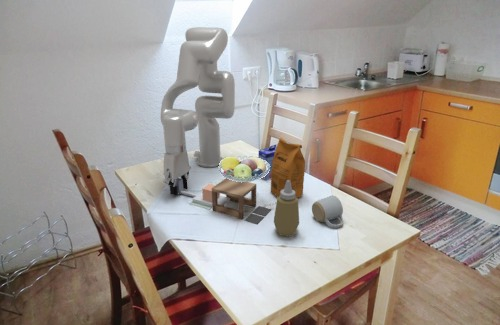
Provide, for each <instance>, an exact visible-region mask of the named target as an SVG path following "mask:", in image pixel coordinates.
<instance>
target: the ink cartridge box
mask: <svg viewBox="0 0 500 325" xmlns="http://www.w3.org/2000/svg"><path fill="white" fill-rule="evenodd" d="M277 144H278V143H277ZM277 144H272V145H270V146H269V147H268V148H262V149H259V150H258V158H261V159H263V160H266V161H267V162H268V163H269V164H270V166H271V167H270V171H269V173H268V174H267V175H266V176H265V177H263V178H261V179H262V180H264V181H267V180H271V170H272V162H273V158H274V154H275V151H276V148H277Z"/></svg>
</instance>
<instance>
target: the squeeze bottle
mask: <svg viewBox="0 0 500 325" xmlns="http://www.w3.org/2000/svg"><path fill="white" fill-rule="evenodd" d="M295 194H296V193H295V191H294V190H292V187H291V182H290V180H287V181H286V185H285V188H284V189H283V190H281V191H280V196H279V197H276V204H275V211H274V218H273V224H274V227H275V230H276V233H277V234H278V235H279V236H282V237H292V236H294V235H295V233H296V231H297V229H298V227H299V224H300V210H299V199H298V198H299V197H298V198H296V197H295Z"/></svg>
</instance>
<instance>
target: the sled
mask: <svg viewBox="0 0 500 325" xmlns="http://www.w3.org/2000/svg"><path fill="white" fill-rule="evenodd" d="M180 178H181V177H179V178H177V181H176V186H177V190H178V195H185V196H189V197H192V201H193V202H196V203H200V204H203V205H207V206H210V207H212V208H213V206H212V202H210V201H206V200H203V194H202V191H201V192H200V193H199V194H196V193H193V192H191V191H190V192H189V191H185V189H183V179H180ZM217 200H218V205H222V206H226V205H227V204H229V203H230V202H231V201H230V198H228V197H226V196H223V195H220V197H219V198H218V199H217Z"/></svg>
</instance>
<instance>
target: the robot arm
mask: <svg viewBox="0 0 500 325" xmlns="http://www.w3.org/2000/svg"><path fill="white" fill-rule="evenodd" d="M184 36H185V40H186V41H184V42H183V43H182V44H181V46H180V49H179V55H178V64H177V65H178V66H177V73H176V79H175V81H174V83H172V85H171V86H170V87H169V88H168V89H167V91H166V92H165V94H164V96H163V97H162V98H163V99H162V101H161V106H160V122H161V124H162V126H163V138H164V140H163V141H164V147H165V148H164V149H165V153H163V154H164V156H163V175H164V176H163V177H164V178H163V182H164V183H165V184H167V186H169V194H170V195H172V196H179V194H178V190H177V186H176V181H177V178H180V179H183V189H184V190H188V188H189V185H188V179H189V174H190V172H191V169H192V166H191V165H190V161H189V154H188V150H187V144H186V143H187V142H186V132H189V131H192V130H194V129H196V128H197V127H198V144H199V145H198V146H199V151H198V150H195V151H194V154H193V157H197V160H196V163H197V165H198V166H199V167H202V168H215V167H219V166H218V165H219V163H220V161H221V160H222V159H224V158H223V157H221V140H220V139H221V134H220V133H221V131H220V129H221V128H220V123H219V122H218V121H217V119H223V120H224V119H225V120H228V119H229V120H230V119H231V118H233V116H234V114H235V109H236V107H235V106H236V104H235V102H236V101H235V96H236V94H235V93H236V92H235V91H236V90H235V86H236V85H235V78H234V75H233V73H232V72H230V71H226V70H225V71H224V70H218V61H219V60H220V57H221V56H222V55H223V53H224V52H225V50H226V47H227V45H228V41H229V36H228V32H227V31H226V30H225V29H224V28H222V27H202V26H201V27H200V26H199V27H198V26H197V27H190V28H188V29H186V31H185V35H184ZM196 87H198V89H199V91H201V92H202V93H209V94H218V95H219V94H221V96H217V95H200V96H199V97H197V98H196V100H195V102H194V109H195V111H194V110H192V109H184V108H183V109H181V108H174V103H175V101H176V100H177V98H179V96H181V94H183V93H185V92H187V91H190V90H192V89H194V88H196Z"/></svg>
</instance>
